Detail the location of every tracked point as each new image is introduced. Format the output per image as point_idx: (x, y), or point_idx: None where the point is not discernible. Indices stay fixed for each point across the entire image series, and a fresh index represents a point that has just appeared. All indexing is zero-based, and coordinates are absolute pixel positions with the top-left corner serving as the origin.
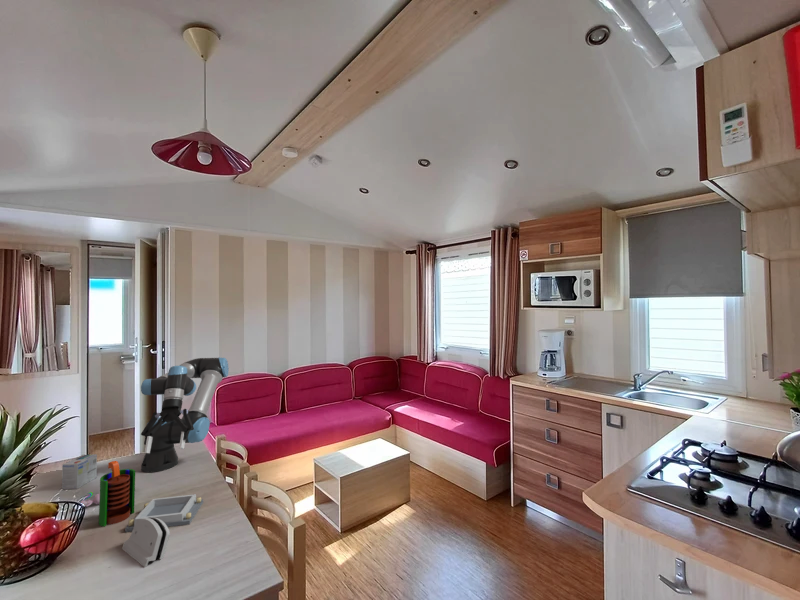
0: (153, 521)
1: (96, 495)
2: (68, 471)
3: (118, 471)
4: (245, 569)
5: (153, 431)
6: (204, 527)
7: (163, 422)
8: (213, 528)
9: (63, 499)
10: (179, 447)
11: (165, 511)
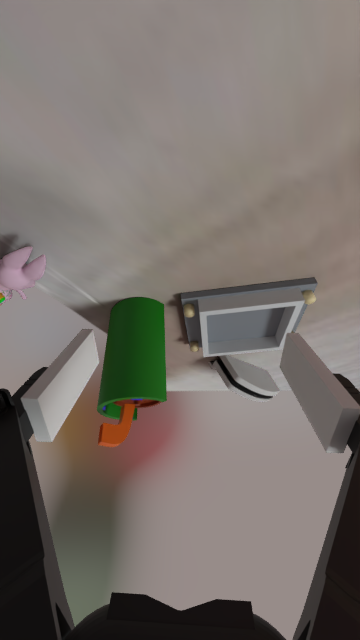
0: (258, 399)
1: (8, 288)
2: None
3: (132, 416)
4: (352, 378)
5: (31, 464)
6: (314, 338)
7: (56, 596)
8: (328, 340)
9: None
10: (282, 369)
11: (238, 317)
